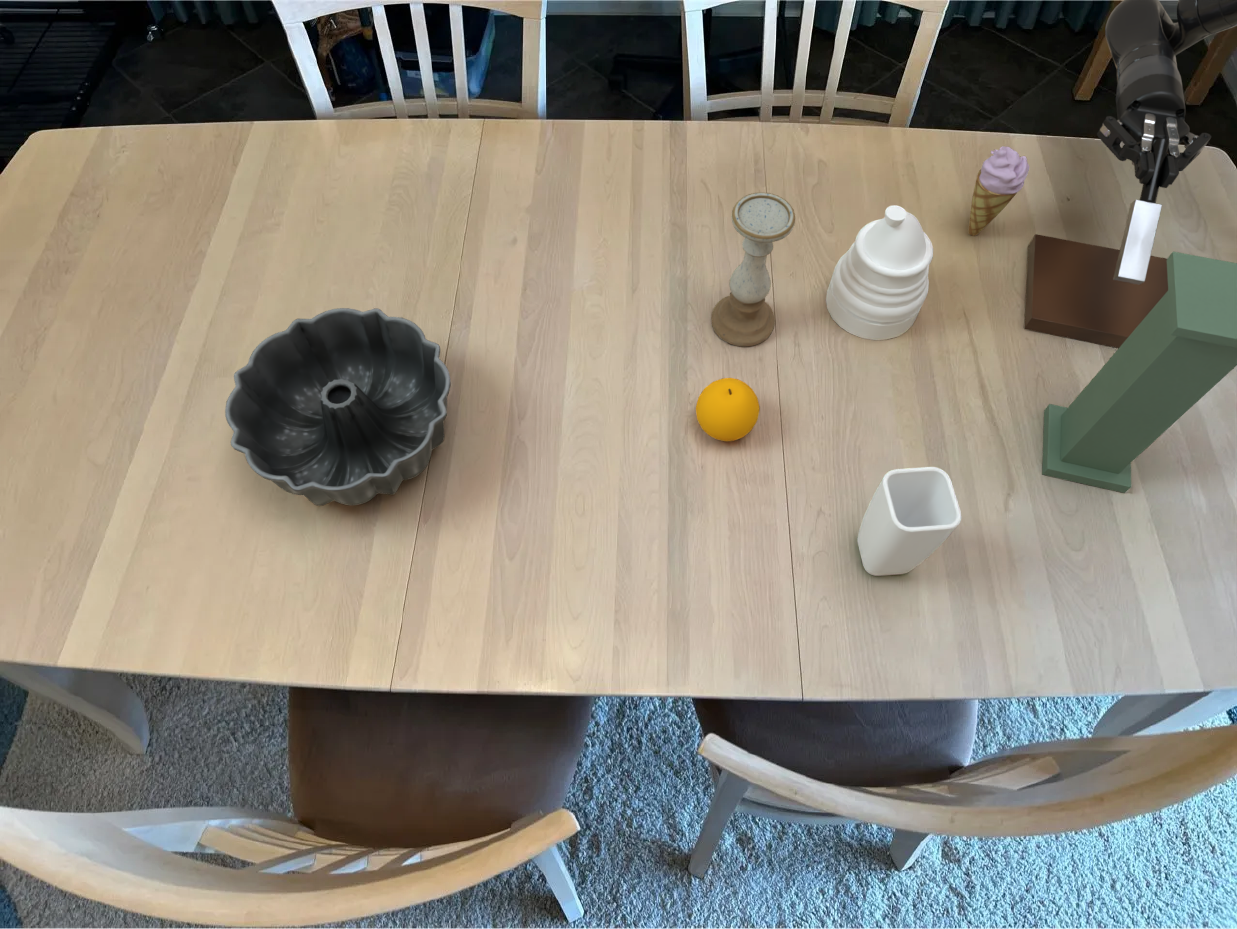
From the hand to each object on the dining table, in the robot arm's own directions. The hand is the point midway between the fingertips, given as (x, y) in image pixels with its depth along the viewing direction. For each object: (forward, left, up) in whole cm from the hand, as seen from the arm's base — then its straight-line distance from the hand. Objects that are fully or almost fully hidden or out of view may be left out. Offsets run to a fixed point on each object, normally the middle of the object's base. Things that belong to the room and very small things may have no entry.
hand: (1157, 179), depth 103 cm
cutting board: (-2, +2, -20) cm, 20 cm away
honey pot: (+29, +11, -20) cm, 37 cm away
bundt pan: (+90, +50, -20) cm, 105 cm away
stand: (0, +28, -20) cm, 34 cm away
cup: (+23, +49, -20) cm, 58 cm away
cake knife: (0, +1, -3) cm, 3 cm away
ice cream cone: (+16, -7, -20) cm, 26 cm away
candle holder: (+46, +19, -20) cm, 53 cm away
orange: (+45, +36, -20) cm, 61 cm away
